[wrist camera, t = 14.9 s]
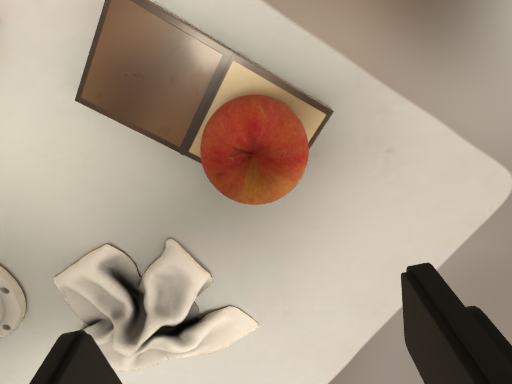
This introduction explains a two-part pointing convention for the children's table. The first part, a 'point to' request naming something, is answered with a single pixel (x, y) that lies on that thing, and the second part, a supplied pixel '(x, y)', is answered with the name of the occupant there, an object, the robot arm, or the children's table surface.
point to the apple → (254, 149)
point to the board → (175, 77)
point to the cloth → (147, 307)
